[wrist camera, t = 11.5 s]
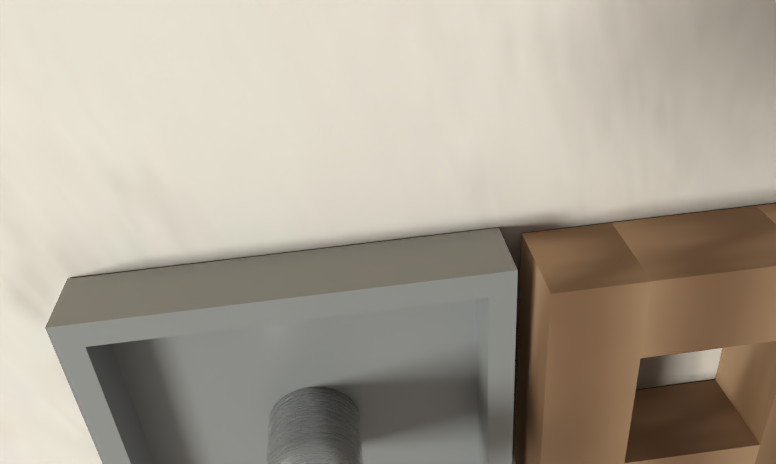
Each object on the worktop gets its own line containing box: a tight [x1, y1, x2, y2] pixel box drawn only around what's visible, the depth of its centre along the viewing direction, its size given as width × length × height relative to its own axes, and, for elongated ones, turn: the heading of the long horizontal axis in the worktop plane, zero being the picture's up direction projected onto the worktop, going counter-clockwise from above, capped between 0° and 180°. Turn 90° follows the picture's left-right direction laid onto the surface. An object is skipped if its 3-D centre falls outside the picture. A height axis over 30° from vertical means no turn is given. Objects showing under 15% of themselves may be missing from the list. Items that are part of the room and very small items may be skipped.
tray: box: [46, 228, 518, 464], centre depth 24 cm, size 13×13×2 cm
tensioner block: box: [514, 203, 776, 464], centre depth 23 cm, size 10×10×3 cm
